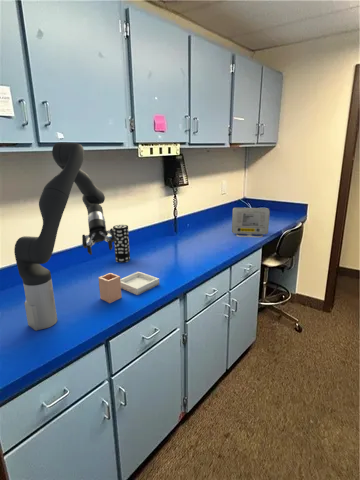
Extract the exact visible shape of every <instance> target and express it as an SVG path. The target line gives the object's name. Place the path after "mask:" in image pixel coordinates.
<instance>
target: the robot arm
mask: <svg viewBox="0 0 360 480" xmlns="http://www.w3.org/2000/svg"><path fill="white" fill-rule="evenodd" d="M51 153H52V154H51V155H52V158H53V160H54V162H55V163H56V164H57V166H58V167H59V168H60V169H62V170H60V172H58V173H57V175H55V176H54V177H53V178H51V179H50V180H49V181H48V182H47V183H46V184H45V186H44V188H43V189H42V192H41V195H40V197H39V200H38V208H39V211H40V216H41V217H42V225H41V226H42V227H41V231H40V233H39V235H38V236H27V235H26V236H24V235H23V236H21V237H19V238H18V239H17V240H16V241H15V243H14V249H13V250H14V257H15V262H16V266H17V270H18V274H19V277H20V278H21V279H22V284H23V288H24V295H25V301H24V309H25V314H26V320H27V325H28V326H29V327H30V328H31V329H32V330H34V331H36V332H37V331H39V330H43V329H44V330H45V329H48V328H52V327H53V326H54V325H55V324H57V322H58V315H57V308H56V302H55V293H54V287H53V280H52V274H51V270H49V269H48V268H46V267H44V266H43V265H44V264H46V263H48V262H49V261H50V259H51V258H52V256H53V252H54V248H55V244H56V241H57V240H56V239H57V235H58V230H59V228H60V224H61V221H62V217H63V216H64V215H63V214H64V211H65V209H66V208H67V204H68V201H69V198H70V195H71V194H70V193H71V191H72V188H73V186H74V184H75V186H76V187H77V188H78V190H79V191H80V193H81V195H82V198H81V199H82V202H83V204H84V206H85V207H86V210H87V223H88V232H89V233H88V234H87V235H85V234H82V237H81V238H82V242H81V244H82V246H83V248H84V249H87V253H88V254H89V255H90V256H91V255H93V250H92V246H94V245H95V244H96V243H100V242H103V241H105V242H107V245H108V250H109V251H112V249H113V248H114V247H113V243H114V242H115V241H116V239H115V235H114V231H113V227H112V228H110V229H109V230H107V226H106V219H105V216H104V211H103V207H102V205H101V204H103V203H104V202H105V199H106V197H105V193H104V192H103V191H102V190H101V189H100V188H99V187H98V186H96V185H95V184H94V182H93V180H92V179H91V177H90V175H89V174H87V172H85V171H84V170H82V169H81V167H82V165H83V163H84V158H85V149H84V147H83V145H82V144H80V143H77V142H64V141H63V142H61V141H60V142H56V143H55V144H54V145H53V147H52V149H51ZM108 235H110V236H111V238H110V237H109V236H108Z"/></svg>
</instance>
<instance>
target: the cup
mask: <svg viewBox="0 0 360 480" xmlns="http://www.w3.org/2000/svg"><path fill="white" fill-rule="evenodd" d="M120 279H121V276H120V275H117V274H115V273H112V272H109V273H106V274H104V275H101V276H98V286H99V289H98V290H99V297H100V300H102V301H105V302H106V303H108V304H111V303H113V302H116V301H118V300H120V299H122V298H123V297H122V288H121V281H120Z"/></svg>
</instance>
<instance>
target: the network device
mask: <svg viewBox="0 0 360 480" xmlns="http://www.w3.org/2000/svg"><path fill="white" fill-rule="evenodd" d="M270 213H271V211H270V208H268V207H233V208H232V216H231V217H232V219H231V232H232V233H233V234H236V237H239V238H264V235H267V234H268V233H269V229H270V228H269V226H270V225H269V224H270Z"/></svg>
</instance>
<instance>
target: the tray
mask: <svg viewBox="0 0 360 480" xmlns="http://www.w3.org/2000/svg"><path fill="white" fill-rule="evenodd" d="M120 281H121V290H124V291H127V292H129V293H131V294H134V295H136V296H139V295H141V294H142V293H145V292H147V291H149V290H151V289H153V288H155V287H157V286H159V285H160V278H158V277H156V276H153V275H150V274H147V273H144V272H140V271H135V272H133V273H131V274H129V275H127V276H124V277H123V278H120Z"/></svg>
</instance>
